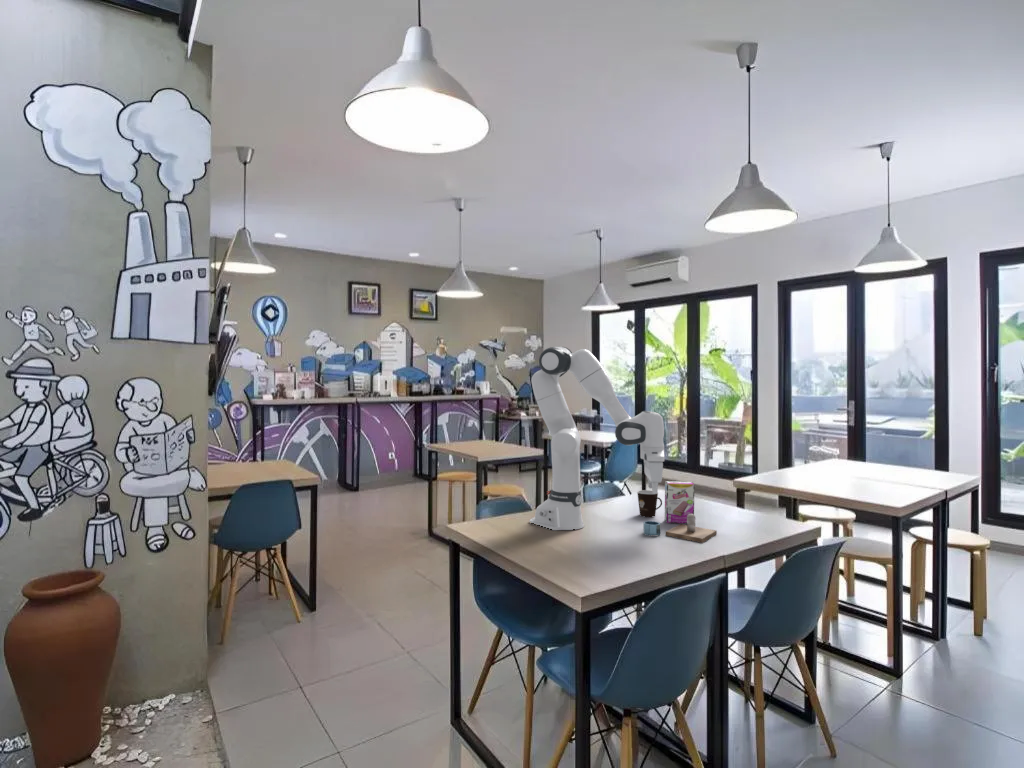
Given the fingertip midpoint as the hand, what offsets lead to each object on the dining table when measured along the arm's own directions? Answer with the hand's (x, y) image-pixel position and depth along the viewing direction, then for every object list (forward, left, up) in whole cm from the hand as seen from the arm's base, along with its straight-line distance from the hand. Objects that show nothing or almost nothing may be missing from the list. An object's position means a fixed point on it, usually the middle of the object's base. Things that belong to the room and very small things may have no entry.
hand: (652, 490), depth 203 cm
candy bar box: (+1, +23, -17) cm, 28 cm away
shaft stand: (+12, +8, -16) cm, 22 cm away
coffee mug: (-13, +24, -17) cm, 32 cm away
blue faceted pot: (0, 0, -16) cm, 16 cm away
